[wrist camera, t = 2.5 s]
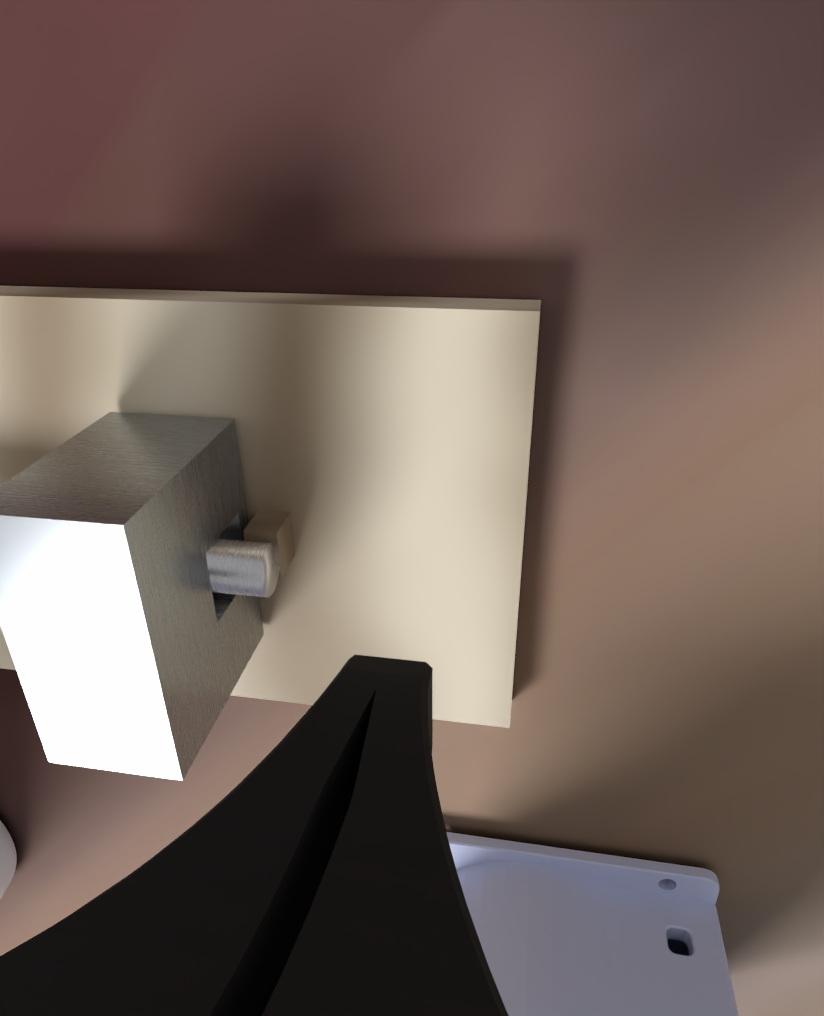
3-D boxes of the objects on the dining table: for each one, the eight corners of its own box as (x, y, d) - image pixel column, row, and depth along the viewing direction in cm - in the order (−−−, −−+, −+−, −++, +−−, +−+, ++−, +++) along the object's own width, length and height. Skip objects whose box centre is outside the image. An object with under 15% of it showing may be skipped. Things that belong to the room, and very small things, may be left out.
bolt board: (541, 299, 15) (534, 399, 10) (511, 701, 20) (497, 906, 15) (-375, 275, 18) (-739, 338, 13) (-196, 622, 24) (-407, 765, 18)
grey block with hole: (234, 419, 16) (123, 525, 12) (264, 634, 19) (182, 780, 15) (110, 411, 16) (-40, 512, 12) (157, 623, 19) (48, 762, 15)
